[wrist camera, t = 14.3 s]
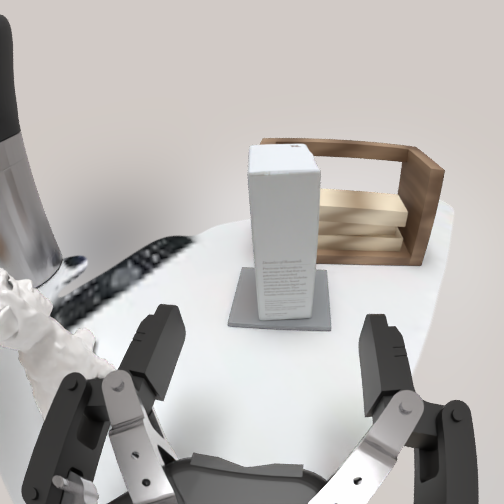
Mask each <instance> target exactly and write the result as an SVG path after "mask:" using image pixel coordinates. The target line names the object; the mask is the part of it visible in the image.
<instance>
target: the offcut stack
mask: <svg viewBox="0 0 504 504" xmlns="http://www.w3.org/2000/svg"><path fill="white" fill-rule="evenodd" d="M407 215H408V211H407V209H406V208H405V206H404V204H403V202H402V200H401V199H400V197H399V195H396V194H385V193H375V192H362V191H349V190H334V189H320V210H319V230H318V245H317V249H329V250H363V251H396V252H400V249H401V245H402V241H403V237H402V235H401V233H400V231H399V229H398V227H405V225H406V220H407ZM397 226H398V227H397Z"/></svg>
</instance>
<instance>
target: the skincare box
mask: <svg viewBox="0 0 504 504" xmlns="http://www.w3.org/2000/svg"><path fill="white" fill-rule="evenodd" d="M320 179H321V171H320V169H319V167H318V165H317V163H316V162H315V159H314V156H313V154H312V153H311V152H310V151H309V149H308V148H307V146H306V145H305V144H265V145H252V146H250V149H249V155H248V188H249V201H250V214H251V227H252V239H253V252H254V264H255V276H256V289H257V302H258V313H259V319H260V320H262V321H266V320H284V319H305V318H311V315H312V305H313V294H314V283H315V271H316V259H317V245H318V230H319V210H320Z"/></svg>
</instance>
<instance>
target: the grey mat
mask: <svg viewBox="0 0 504 504" xmlns="http://www.w3.org/2000/svg"><path fill="white" fill-rule="evenodd" d="M228 326H235V327H249V328H266V329H287V330H321V331H331V317H330V303H329V291H328V280H327V270H316V271H315V283H314V294H313V305H312V315H311V318H305V319H284V320H266V321H262V320H260V319H259V313H258V302H257V289H256V276H255V268H247V267H242V270H241V273H240V277H239V281H238V285H237V289H236V292H235V296H234V300H233V304H232V308H231V312H230V316H229V319H228Z"/></svg>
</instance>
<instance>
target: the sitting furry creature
mask: <svg viewBox="0 0 504 504" xmlns="http://www.w3.org/2000/svg"><path fill="white" fill-rule="evenodd" d="M52 308H53V304H52V302H51V301H50V300H49V299H48V298H45V297H44V296H43V294H42V293H40V292H39V290H38V289H36V288H33V282H32V280H30V279H24V280H15V279H14V278H13V277H12V276H10V275H9V274H8V272H7V271H6V270H4V268H0V345H1V346H2V347H4V348H10V349H13V350H18V353H19V361H20V363H21V365H22V366H23V367H24V369H25V372H26V376H27V379H28V380H29V381H30V385H31V387H32V389H33V397H34V399H35V403H36V405H37V407H38V409H39V412H41V414H42V416H43V419H44V421H45V418H46V416H47V413H48V411H49V409H50V406H51V404H52V402H53V399H54V397H55V395H56V392H57V390H58V388H59V386H60V384H61V381H62V380H63V378H64V377H65V376H66V375H68V374H70V373H73V372H78V373H80V374H82V375H83V376H84V377H85V378H86V379H95V378H96V379H102V378H105V376H106V375H107V374H109V373H110V372H112V371H115V370H116V369H115V366H114V365H113V364H109V363H108V361H107V360H106V359H102V358H100V357H97V356H96V354H95V353H92V352H93V348H94V343H95V340H96V339H95V336H94V334H93V333H92V331H90V330H89V329H87V328H83V329H80V328H79V329H78V330H77V331H76V332H75V333H74V334H73V335H72V334H71V333H70V332H69V331H68V330H66V329H64V327H63V326H62V325H61V324H60V323H58V322H57V321H56V320H55V319H54V318H52V317H50V313H51V311H52Z"/></svg>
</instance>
